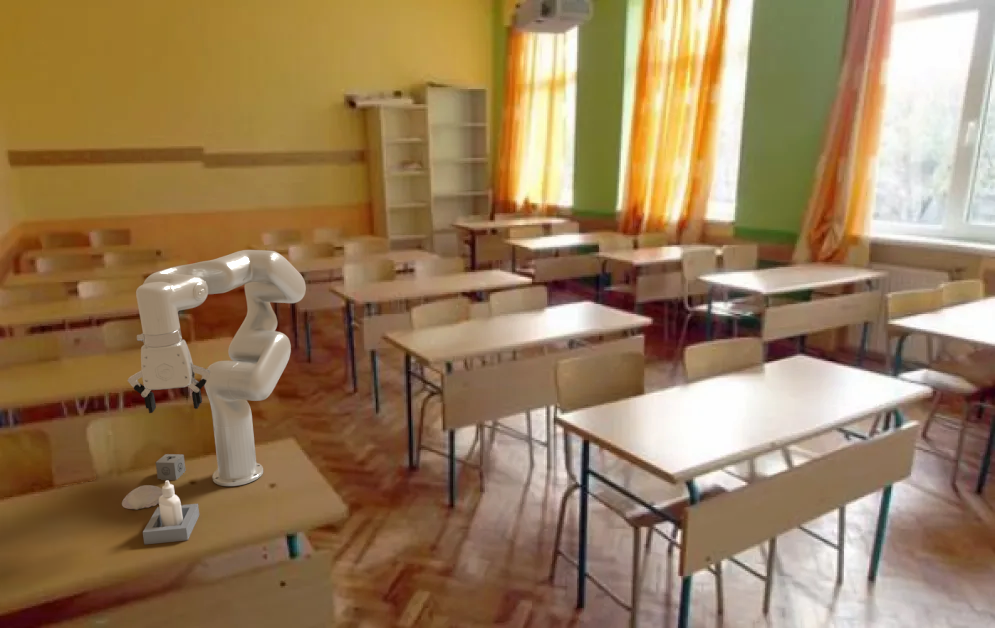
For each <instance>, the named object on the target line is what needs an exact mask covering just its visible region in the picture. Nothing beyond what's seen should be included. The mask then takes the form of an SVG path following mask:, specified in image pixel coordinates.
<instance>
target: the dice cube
mask: <svg viewBox="0 0 995 628" xmlns="http://www.w3.org/2000/svg"><path fill="white" fill-rule="evenodd" d="M155 468H156V476H157V480H158V479H161V480H160V481H166V480H169V481H177V480H178V479H179V478H180V477H182V476H183V475H184V474H185V473H186V472H187V471H186V464H185V454H177V453H176V454H175V453H174V454H173V453H170V454H169V453H167V454H166V453H164V455H163V456H162V457H160V458H159V459H158V460H156V462H155ZM185 471H186V472H185ZM183 473H184V474H183Z"/></svg>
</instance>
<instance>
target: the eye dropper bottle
mask: <svg viewBox="0 0 995 628" xmlns="http://www.w3.org/2000/svg"><path fill="white" fill-rule="evenodd" d="M161 489H162V493H163V495H162V496H161V497H160V498H159V504H158V505H159V506H158V507H160V515H161V522H162V526H161V527H167V526H177V525H181V524H182V522H183V516H182V508H181V505H182V503H181V499H180V497H179V496H178V495H177V494H175V486H174V484H172V483H170V480H164V485H162V487H161Z"/></svg>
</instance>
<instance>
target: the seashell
mask: <svg viewBox="0 0 995 628" xmlns="http://www.w3.org/2000/svg"><path fill="white" fill-rule="evenodd" d="M162 495H163V493H162V487H160V486H156V485H153V484H152V485H149V484H148V485H147V484H146V485H140V486H137V487H136V488H134V489H132V490H131V491H129V493H127V494H126V496H124V497H123V500H122V502H121V506H122V507H123V508H125V509H127V510H128V509H129V510H140V509H144V508H151V507H155V506H157V505H159V498H160V497H161V496H162Z"/></svg>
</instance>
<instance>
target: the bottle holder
mask: <svg viewBox="0 0 995 628" xmlns="http://www.w3.org/2000/svg"><path fill="white" fill-rule="evenodd" d="M181 508H182V516H183V522H182V524H181V525H177V526H167V527H162V522H161V515H160V507H159V506H157V508H156V509H155V510H154V512H153V514H152V516H151V517H150V519H149V521H148V522H147V524H146V526H145V527H144V529H143V531H142V538H143V544H144V545H151V544H153V545H154V544H162V543H172V542H173V543H174V542H183V541H184V542H185V541H189V539H190V537H191V535H192V532H193V530H194V528H195V526H196V523H197V521H198V519H199V516H200V510H199V503H191V504H189V503H188V504H181Z"/></svg>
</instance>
